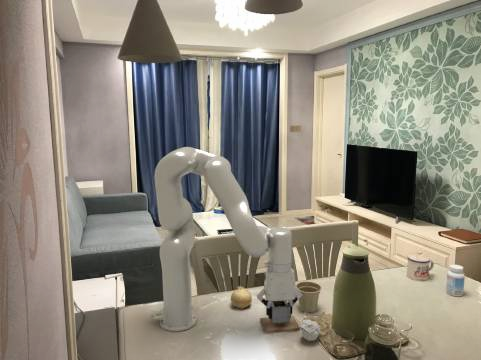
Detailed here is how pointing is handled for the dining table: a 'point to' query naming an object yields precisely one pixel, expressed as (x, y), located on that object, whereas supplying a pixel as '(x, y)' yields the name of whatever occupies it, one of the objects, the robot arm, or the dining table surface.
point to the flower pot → (308, 295)
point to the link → (280, 311)
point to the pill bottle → (455, 280)
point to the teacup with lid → (419, 266)
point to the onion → (241, 298)
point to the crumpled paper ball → (309, 330)
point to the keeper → (279, 325)
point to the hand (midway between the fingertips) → (279, 315)
